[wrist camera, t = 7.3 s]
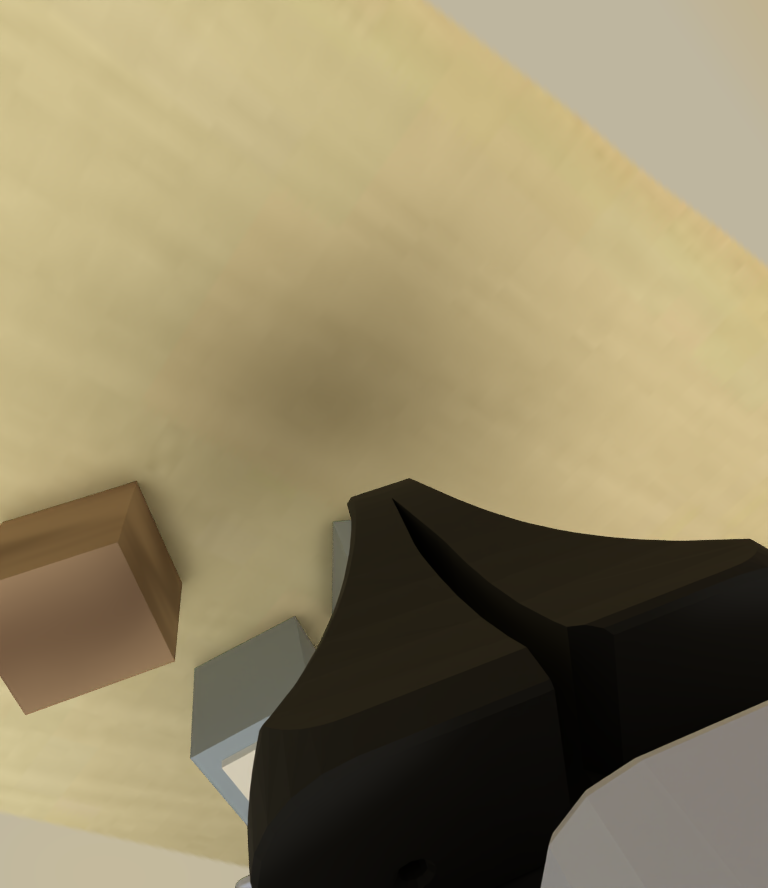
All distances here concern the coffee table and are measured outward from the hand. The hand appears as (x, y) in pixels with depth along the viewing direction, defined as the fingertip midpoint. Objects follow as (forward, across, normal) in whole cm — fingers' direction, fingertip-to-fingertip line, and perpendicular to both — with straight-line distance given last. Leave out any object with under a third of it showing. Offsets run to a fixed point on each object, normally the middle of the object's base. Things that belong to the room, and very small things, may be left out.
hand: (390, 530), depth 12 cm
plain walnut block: (+10, +9, +4) cm, 14 cm away
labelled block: (+10, +5, +12) cm, 16 cm away
